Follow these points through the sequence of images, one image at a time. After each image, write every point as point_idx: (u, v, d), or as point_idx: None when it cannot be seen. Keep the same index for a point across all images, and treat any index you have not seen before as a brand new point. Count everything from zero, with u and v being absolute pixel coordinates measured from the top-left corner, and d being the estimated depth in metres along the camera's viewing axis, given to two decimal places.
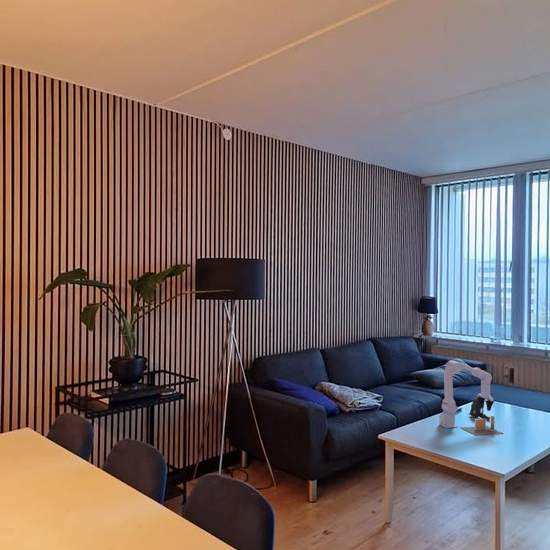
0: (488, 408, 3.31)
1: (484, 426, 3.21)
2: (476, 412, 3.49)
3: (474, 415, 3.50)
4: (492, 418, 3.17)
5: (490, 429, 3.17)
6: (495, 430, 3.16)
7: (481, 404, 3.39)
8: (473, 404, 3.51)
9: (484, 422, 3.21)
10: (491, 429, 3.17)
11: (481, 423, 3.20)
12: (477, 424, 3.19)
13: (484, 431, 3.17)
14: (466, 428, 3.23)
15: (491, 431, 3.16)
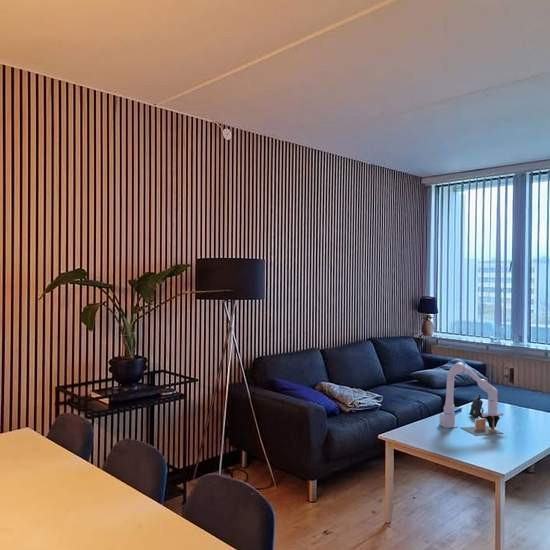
0: (489, 424, 3.18)
1: (484, 426, 3.21)
2: (476, 412, 3.49)
3: (474, 415, 3.50)
4: None
5: (490, 429, 3.17)
6: (495, 430, 3.16)
7: None
8: (473, 404, 3.51)
9: (484, 422, 3.21)
10: (491, 429, 3.17)
11: (481, 423, 3.20)
12: (477, 424, 3.19)
13: (484, 431, 3.17)
14: (466, 428, 3.23)
15: (491, 431, 3.16)
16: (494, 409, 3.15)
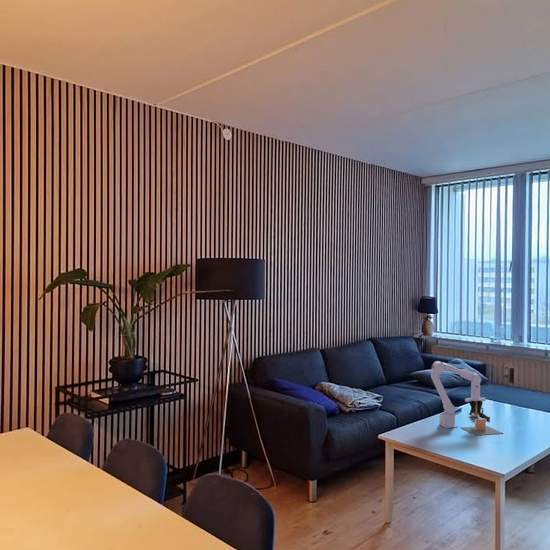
0: (472, 409, 3.28)
1: (484, 426, 3.21)
2: None
3: None
4: None
5: (473, 414, 3.27)
6: (478, 415, 3.26)
7: None
8: None
9: (484, 422, 3.21)
10: (474, 414, 3.27)
11: (481, 423, 3.20)
12: (477, 424, 3.19)
13: (484, 431, 3.17)
14: (466, 428, 3.23)
15: (474, 416, 3.25)
16: (477, 394, 3.25)
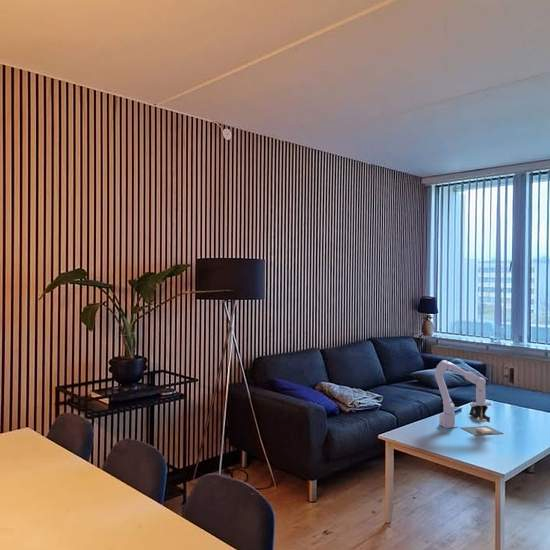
0: (477, 414, 3.21)
1: None
2: None
3: (474, 415, 3.50)
4: None
5: (478, 419, 3.20)
6: (483, 420, 3.19)
7: None
8: None
9: None
10: (479, 419, 3.20)
11: None
12: None
13: None
14: (466, 428, 3.23)
15: (479, 421, 3.18)
16: (482, 399, 3.18)
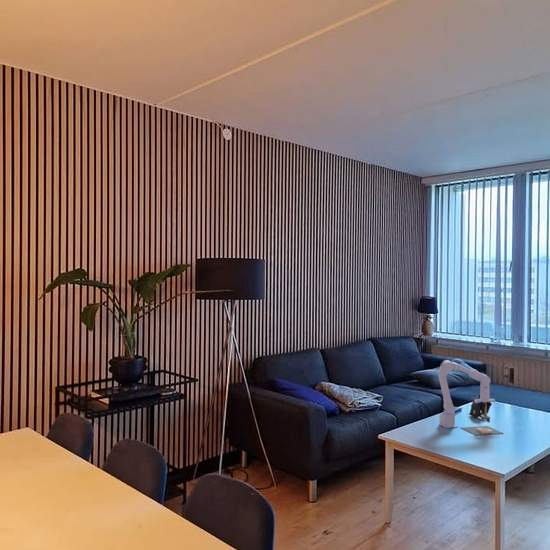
0: (481, 410, 3.26)
1: None
2: (476, 412, 3.49)
3: (474, 415, 3.50)
4: None
5: (482, 415, 3.25)
6: (487, 416, 3.24)
7: None
8: (473, 404, 3.51)
9: None
10: (483, 415, 3.25)
11: None
12: None
13: None
14: (466, 428, 3.23)
15: (483, 417, 3.24)
16: (486, 395, 3.23)
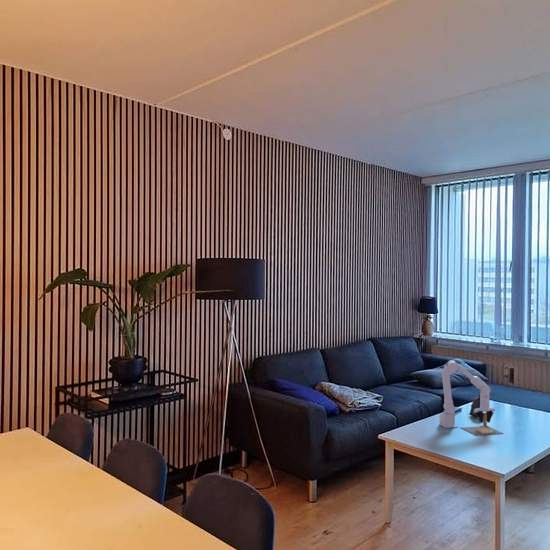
0: (479, 419, 3.25)
1: None
2: None
3: (474, 415, 3.50)
4: (484, 415, 3.25)
5: (482, 425, 3.25)
6: (487, 427, 3.24)
7: (487, 418, 3.27)
8: (473, 404, 3.51)
9: None
10: (483, 425, 3.25)
11: None
12: None
13: None
14: (466, 428, 3.23)
15: (483, 427, 3.24)
16: (486, 405, 3.23)
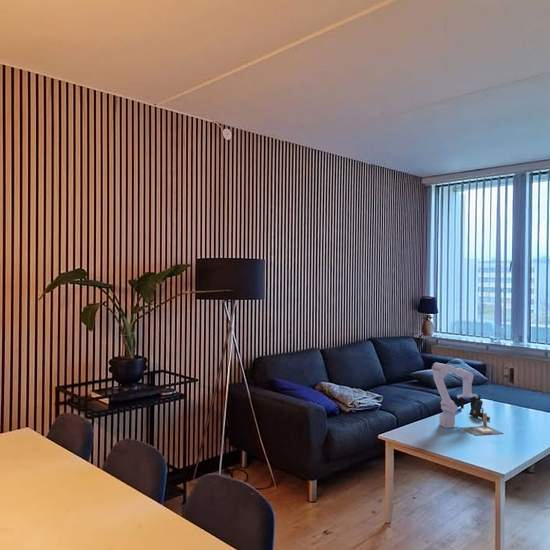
0: (461, 405, 3.36)
1: None
2: (476, 412, 3.49)
3: (474, 415, 3.50)
4: (484, 415, 3.25)
5: (482, 425, 3.25)
6: (487, 426, 3.24)
7: (471, 404, 3.38)
8: None
9: None
10: (483, 425, 3.25)
11: None
12: None
13: None
14: (466, 428, 3.23)
15: (483, 427, 3.24)
16: (468, 391, 3.34)
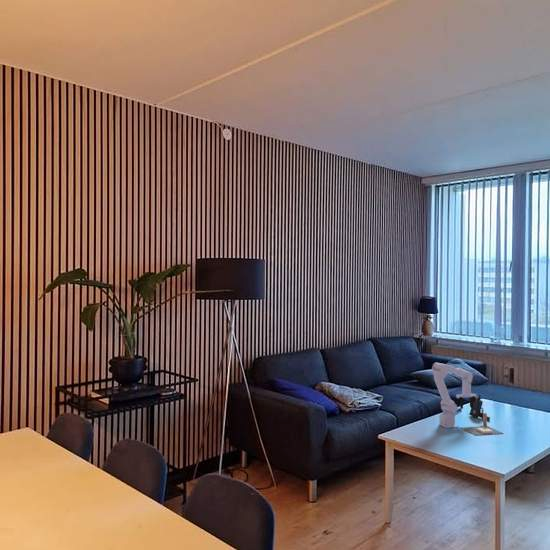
0: (460, 405, 3.37)
1: None
2: (476, 412, 3.49)
3: (474, 415, 3.50)
4: (484, 415, 3.25)
5: (482, 425, 3.25)
6: (487, 426, 3.24)
7: (470, 404, 3.39)
8: None
9: None
10: (483, 425, 3.25)
11: None
12: None
13: None
14: (466, 428, 3.23)
15: (483, 427, 3.24)
16: (468, 391, 3.34)
